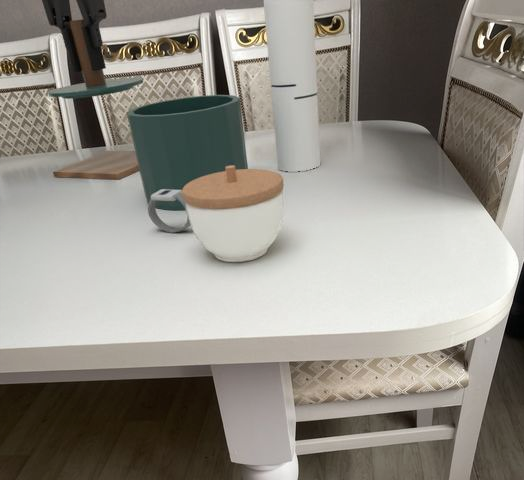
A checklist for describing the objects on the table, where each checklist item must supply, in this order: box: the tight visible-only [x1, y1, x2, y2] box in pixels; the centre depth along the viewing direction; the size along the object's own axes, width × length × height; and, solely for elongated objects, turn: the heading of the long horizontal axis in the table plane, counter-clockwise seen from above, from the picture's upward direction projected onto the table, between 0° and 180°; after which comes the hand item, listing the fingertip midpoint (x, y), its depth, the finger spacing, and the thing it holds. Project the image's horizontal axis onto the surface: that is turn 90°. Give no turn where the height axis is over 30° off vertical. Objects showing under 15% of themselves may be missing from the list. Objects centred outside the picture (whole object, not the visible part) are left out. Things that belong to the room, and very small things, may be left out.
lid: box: [47, 18, 144, 100], centre depth 92 cm, size 17×17×11 cm
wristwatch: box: [147, 189, 191, 234], centre depth 66 cm, size 6×3×5 cm, turn 66°
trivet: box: [52, 150, 140, 181], centre depth 102 cm, size 16×16×1 cm
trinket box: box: [182, 165, 285, 263], centre depth 57 cm, size 11×11×9 cm
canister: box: [126, 94, 249, 211], centre depth 77 cm, size 16×16×12 cm
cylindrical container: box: [263, 0, 321, 173], centre depth 81 cm, size 7×7×25 cm
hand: (90, 69), depth 93 cm, fingers closed on lid, 4 cm apart
